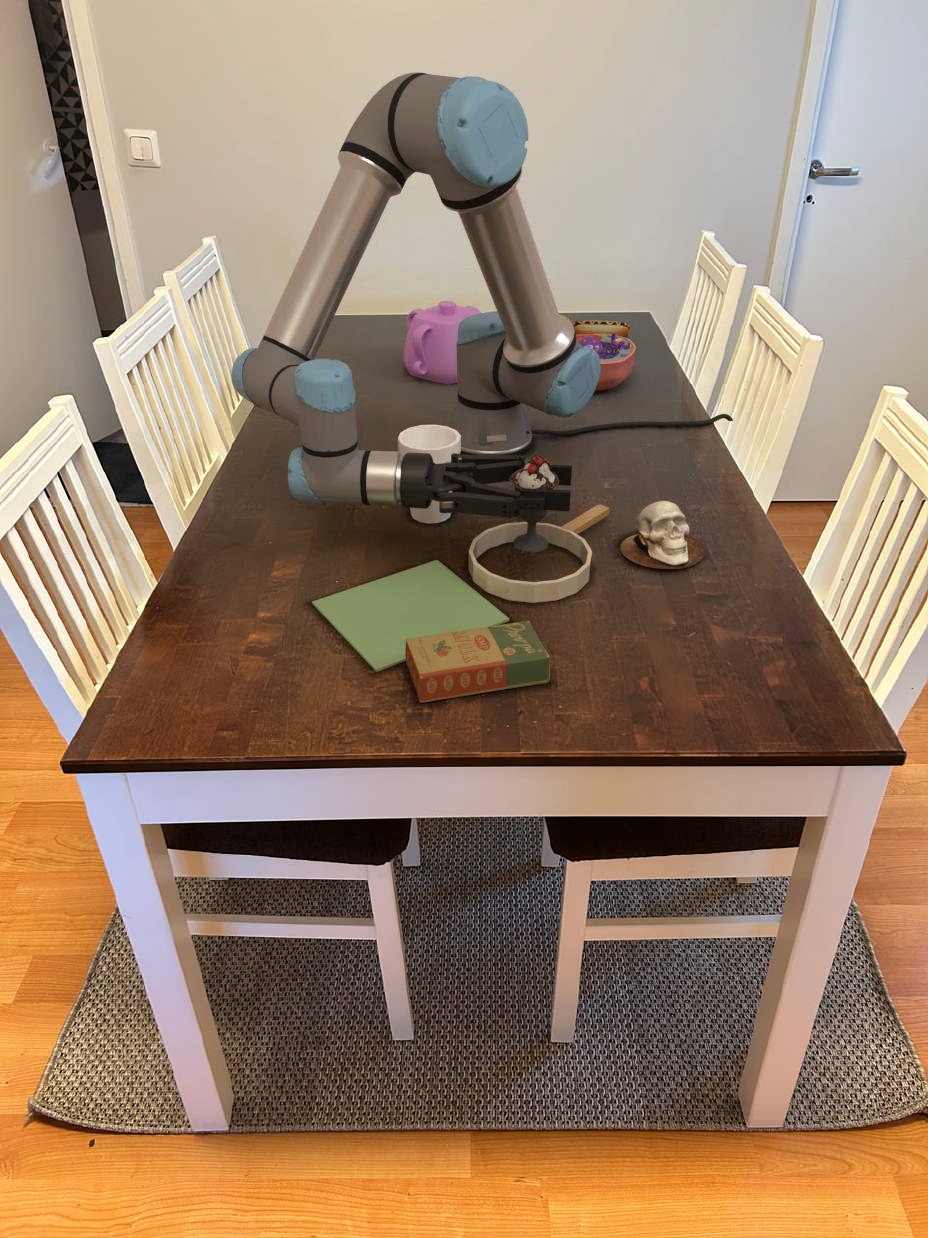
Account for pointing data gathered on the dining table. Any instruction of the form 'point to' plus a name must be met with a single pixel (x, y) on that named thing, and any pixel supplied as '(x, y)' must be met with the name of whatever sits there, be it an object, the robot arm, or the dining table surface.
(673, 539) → the skull
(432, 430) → the foam cup
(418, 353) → the teapot
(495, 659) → the carton
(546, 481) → the sundae
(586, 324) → the hot dog
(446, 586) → the mat
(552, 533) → the pan
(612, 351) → the cell model
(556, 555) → the dining table surface
